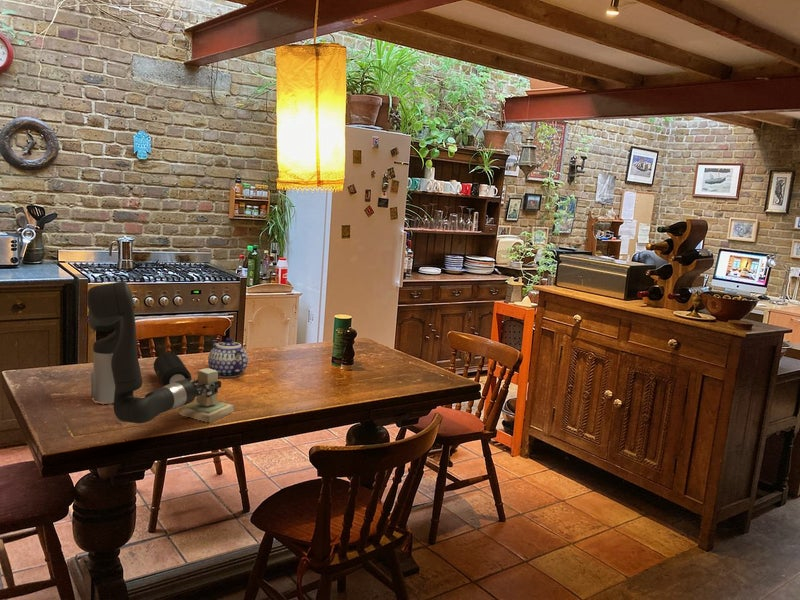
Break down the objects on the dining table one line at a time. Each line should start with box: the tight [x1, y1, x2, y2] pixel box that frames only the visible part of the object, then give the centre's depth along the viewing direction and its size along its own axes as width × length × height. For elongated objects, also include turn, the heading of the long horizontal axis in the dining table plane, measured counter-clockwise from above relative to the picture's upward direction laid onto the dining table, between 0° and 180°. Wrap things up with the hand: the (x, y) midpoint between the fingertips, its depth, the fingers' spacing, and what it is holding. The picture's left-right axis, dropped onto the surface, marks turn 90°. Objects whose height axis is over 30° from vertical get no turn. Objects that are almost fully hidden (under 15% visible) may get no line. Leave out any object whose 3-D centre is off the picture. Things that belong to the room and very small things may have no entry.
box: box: [196, 367, 219, 406], centre depth 207 cm, size 5×4×11 cm
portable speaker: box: [153, 351, 193, 387], centre depth 234 cm, size 26×10×10 cm, turn 29°
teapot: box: [207, 337, 249, 379], centre depth 252 cm, size 25×15×15 cm, turn 40°
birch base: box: [178, 401, 235, 424], centre depth 209 cm, size 12×12×3 cm
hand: (212, 382), depth 209 cm, fingers closed on box, 5 cm apart
